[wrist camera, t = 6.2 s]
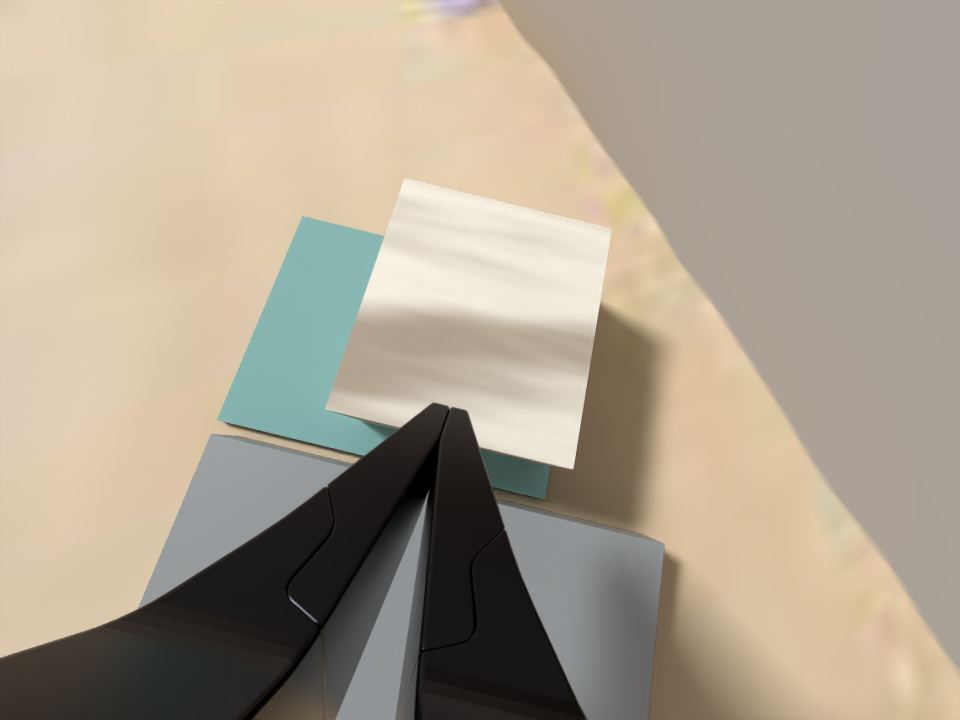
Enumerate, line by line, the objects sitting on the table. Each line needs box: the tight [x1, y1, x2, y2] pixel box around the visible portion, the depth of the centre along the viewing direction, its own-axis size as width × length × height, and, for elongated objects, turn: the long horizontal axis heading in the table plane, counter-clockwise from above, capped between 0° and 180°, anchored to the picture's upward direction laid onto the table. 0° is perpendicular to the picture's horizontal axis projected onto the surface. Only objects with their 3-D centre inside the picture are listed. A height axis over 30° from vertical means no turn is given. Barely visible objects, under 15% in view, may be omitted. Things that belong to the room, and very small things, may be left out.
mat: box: [217, 216, 551, 500], centre depth 19 cm, size 12×16×1 cm
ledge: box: [138, 434, 665, 720], centre depth 15 cm, size 9×20×2 cm, turn 77°
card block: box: [325, 178, 612, 469], centre depth 16 cm, size 5×9×10 cm
